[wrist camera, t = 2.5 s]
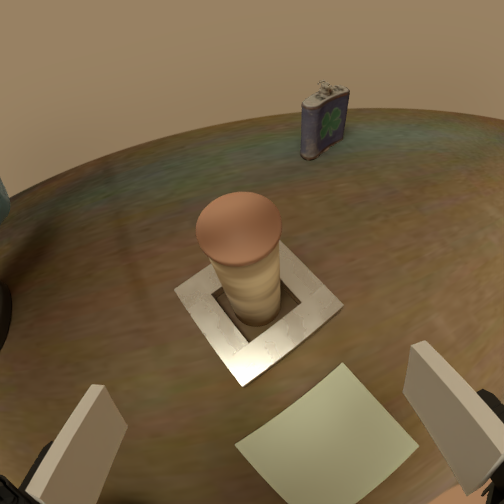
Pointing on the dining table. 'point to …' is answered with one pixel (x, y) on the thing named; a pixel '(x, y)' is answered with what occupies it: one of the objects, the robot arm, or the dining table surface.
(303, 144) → the flask
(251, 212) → the plug
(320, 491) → the mat
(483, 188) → the dining table surface
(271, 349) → the socket
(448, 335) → the dining table surface
